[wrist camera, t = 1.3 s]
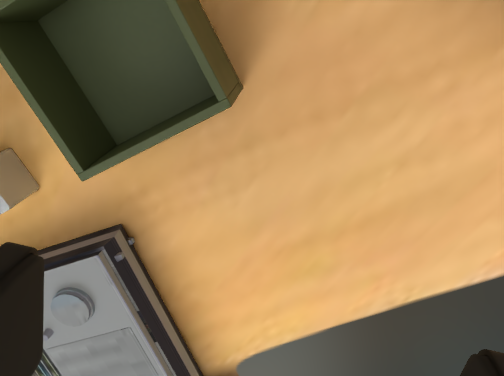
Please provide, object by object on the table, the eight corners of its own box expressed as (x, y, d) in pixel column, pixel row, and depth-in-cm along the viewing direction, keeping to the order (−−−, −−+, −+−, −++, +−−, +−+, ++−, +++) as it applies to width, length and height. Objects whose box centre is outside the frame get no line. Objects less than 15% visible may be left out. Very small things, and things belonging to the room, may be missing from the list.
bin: (32, 16, 32) (-32, 17, 26) (163, -69, 29) (127, -91, 23) (118, 151, 35) (81, 182, 29) (243, 87, 32) (231, 106, 26)
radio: (220, 457, 41) (47, 489, 45) (228, 410, 46) (70, 442, 50) (100, 245, 33) (-98, 308, 37) (124, 215, 38) (-53, 273, 42)
